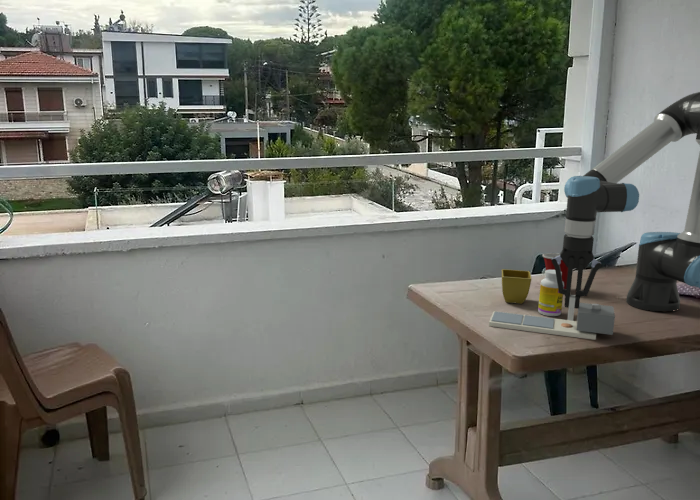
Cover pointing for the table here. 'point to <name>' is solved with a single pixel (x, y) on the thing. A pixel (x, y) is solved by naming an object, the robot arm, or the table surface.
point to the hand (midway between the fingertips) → (570, 318)
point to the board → (538, 325)
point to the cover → (595, 318)
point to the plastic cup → (550, 266)
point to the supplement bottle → (550, 295)
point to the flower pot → (515, 285)
